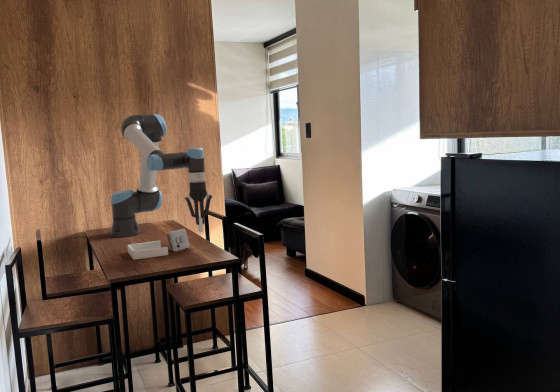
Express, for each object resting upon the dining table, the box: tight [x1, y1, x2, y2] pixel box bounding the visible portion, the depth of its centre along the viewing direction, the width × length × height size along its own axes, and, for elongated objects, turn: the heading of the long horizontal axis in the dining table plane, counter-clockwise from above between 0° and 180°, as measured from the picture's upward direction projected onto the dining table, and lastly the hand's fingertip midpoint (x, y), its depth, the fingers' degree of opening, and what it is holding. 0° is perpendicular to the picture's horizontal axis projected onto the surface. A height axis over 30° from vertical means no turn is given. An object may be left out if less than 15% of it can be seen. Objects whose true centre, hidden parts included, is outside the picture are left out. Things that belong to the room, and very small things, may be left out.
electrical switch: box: [166, 228, 191, 252], centre depth 246 cm, size 9×5×9 cm, turn 141°
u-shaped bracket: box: [127, 240, 169, 260], centre depth 240 cm, size 16×15×4 cm
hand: (200, 231), depth 250 cm, fingers closed
